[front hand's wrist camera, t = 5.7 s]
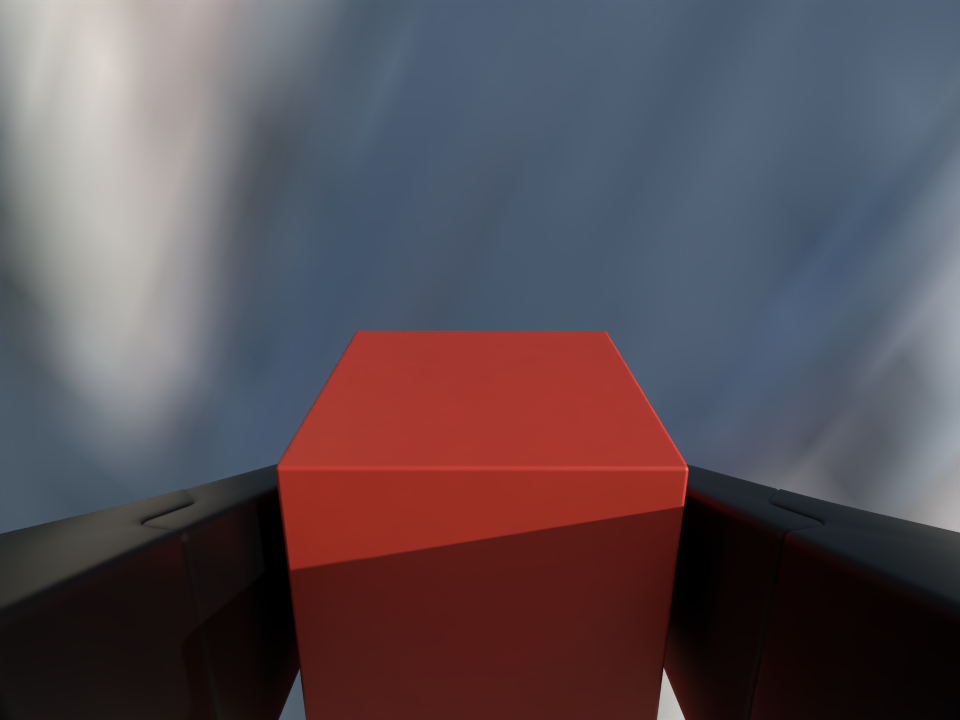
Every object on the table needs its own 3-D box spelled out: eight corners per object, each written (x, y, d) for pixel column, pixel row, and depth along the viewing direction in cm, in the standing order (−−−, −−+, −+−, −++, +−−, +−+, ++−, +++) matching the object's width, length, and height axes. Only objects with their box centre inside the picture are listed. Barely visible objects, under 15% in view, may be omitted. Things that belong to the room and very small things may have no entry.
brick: (370, 551, 13) (312, 782, 8) (355, 330, 11) (273, 467, 7) (591, 551, 13) (650, 782, 8) (606, 330, 11) (690, 468, 7)
